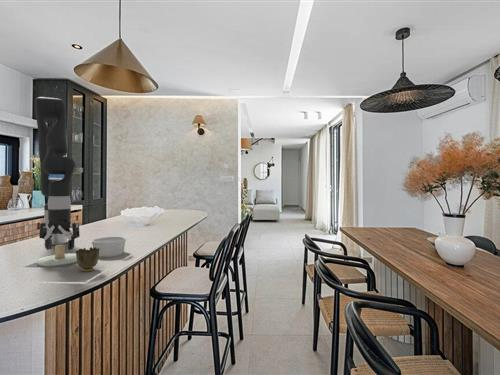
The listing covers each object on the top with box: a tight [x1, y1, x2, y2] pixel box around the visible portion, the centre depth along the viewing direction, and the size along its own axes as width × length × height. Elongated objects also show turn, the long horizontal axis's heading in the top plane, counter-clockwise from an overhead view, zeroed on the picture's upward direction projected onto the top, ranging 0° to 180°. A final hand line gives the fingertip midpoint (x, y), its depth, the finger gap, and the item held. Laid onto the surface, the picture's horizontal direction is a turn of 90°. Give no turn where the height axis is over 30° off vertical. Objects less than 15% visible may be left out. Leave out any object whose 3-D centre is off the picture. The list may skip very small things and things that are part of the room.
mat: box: [24, 261, 78, 269], centre depth 118 cm, size 16×16×1 cm
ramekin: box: [91, 236, 126, 258], centre depth 130 cm, size 13×13×7 cm
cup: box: [75, 246, 100, 273], centre depth 106 cm, size 8×7×8 cm
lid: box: [36, 244, 78, 268], centre depth 118 cm, size 15×15×6 cm
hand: (59, 249), depth 117 cm, fingers open, 8 cm apart
